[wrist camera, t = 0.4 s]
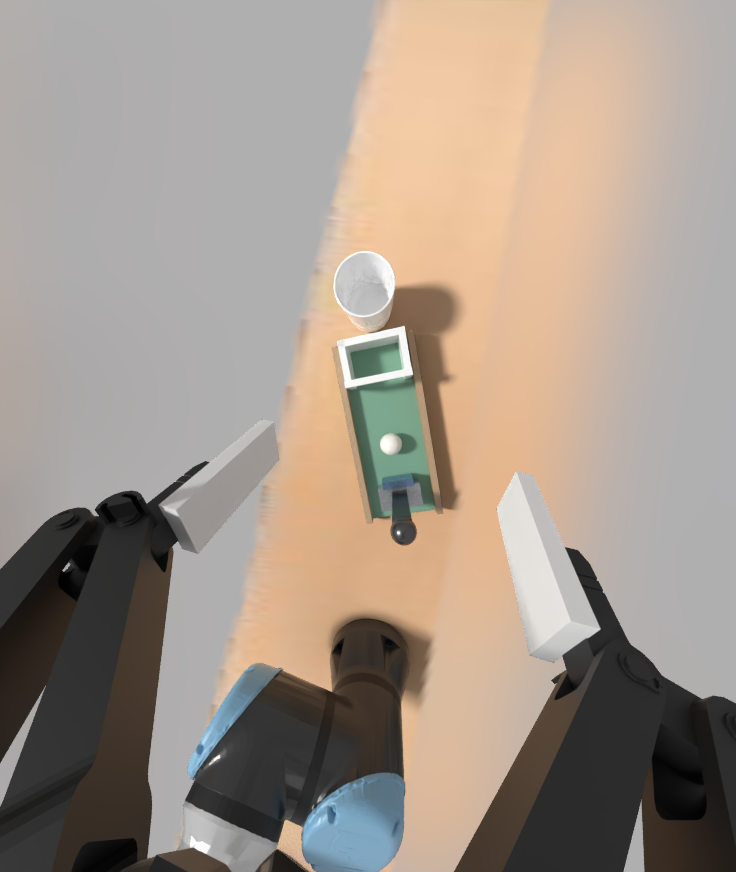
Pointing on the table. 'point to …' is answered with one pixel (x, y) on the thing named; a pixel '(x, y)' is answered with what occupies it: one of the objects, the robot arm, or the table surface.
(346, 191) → the table surface
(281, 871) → the flat black box
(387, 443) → the ball
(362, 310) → the white cup
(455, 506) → the table surface
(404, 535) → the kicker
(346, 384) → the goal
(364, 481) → the pitch
